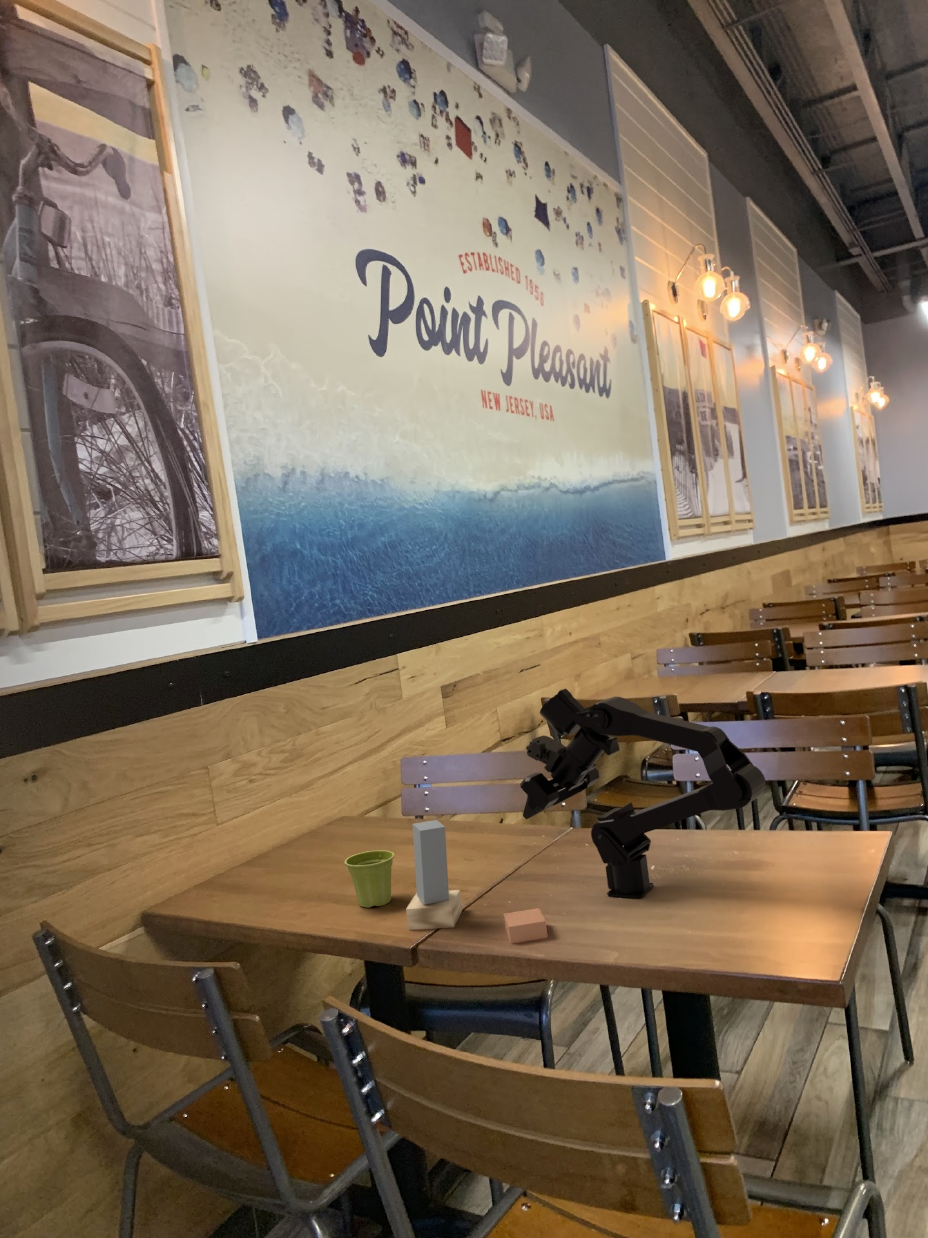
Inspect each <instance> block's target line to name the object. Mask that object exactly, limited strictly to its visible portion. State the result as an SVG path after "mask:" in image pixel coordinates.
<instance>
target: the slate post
mask: <svg viewBox="0 0 928 1238" xmlns="http://www.w3.org/2000/svg"><path fill="white" fill-rule="evenodd" d="M412 837H413V839H412V840H413V853H414V855H413V856H414V870H415V886H416V887H415V888H416V893H417V896H418V898H419V899H420V900H421V901H422V902H423V903H424V905H425V904H430V903H436V902H441V901H446V900H449V891H450V889H449V874H448V858H447V854H448V853H447V839H446V827H445V825H443V824H442V822H440V821H439V820H437V819H434V820H427V821H423V822H416V823H412Z"/></svg>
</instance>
